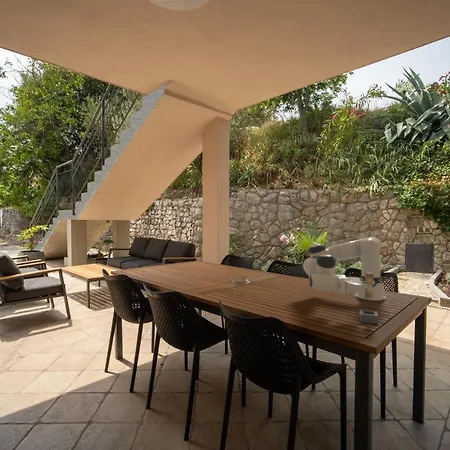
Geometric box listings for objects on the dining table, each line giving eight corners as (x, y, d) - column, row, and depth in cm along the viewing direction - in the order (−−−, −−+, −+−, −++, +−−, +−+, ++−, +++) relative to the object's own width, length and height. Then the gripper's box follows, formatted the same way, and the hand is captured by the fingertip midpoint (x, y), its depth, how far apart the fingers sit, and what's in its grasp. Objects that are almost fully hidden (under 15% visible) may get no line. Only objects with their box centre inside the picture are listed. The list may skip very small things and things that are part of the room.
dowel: (364, 297, 164) (365, 272, 163) (372, 298, 163) (373, 272, 162) (365, 299, 160) (365, 273, 160) (373, 300, 159) (373, 274, 159)
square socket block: (359, 317, 167) (359, 309, 167) (376, 318, 164) (376, 311, 164) (360, 322, 159) (360, 314, 159) (378, 324, 157) (378, 315, 157)
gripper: (341, 285, 175) (369, 287, 171) (341, 293, 156) (373, 296, 152) (341, 273, 175) (369, 275, 171) (342, 280, 156) (373, 283, 151)
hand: (371, 285), depth 161 cm, fingers closed on dowel, 4 cm apart
